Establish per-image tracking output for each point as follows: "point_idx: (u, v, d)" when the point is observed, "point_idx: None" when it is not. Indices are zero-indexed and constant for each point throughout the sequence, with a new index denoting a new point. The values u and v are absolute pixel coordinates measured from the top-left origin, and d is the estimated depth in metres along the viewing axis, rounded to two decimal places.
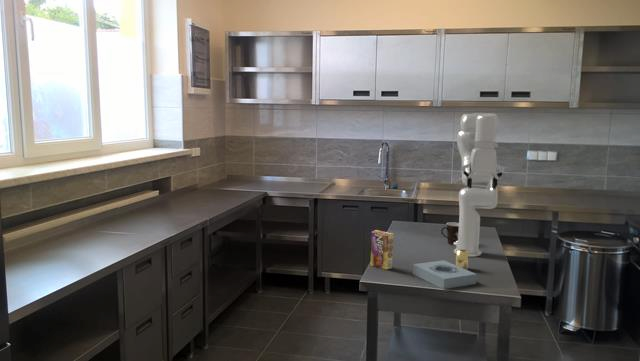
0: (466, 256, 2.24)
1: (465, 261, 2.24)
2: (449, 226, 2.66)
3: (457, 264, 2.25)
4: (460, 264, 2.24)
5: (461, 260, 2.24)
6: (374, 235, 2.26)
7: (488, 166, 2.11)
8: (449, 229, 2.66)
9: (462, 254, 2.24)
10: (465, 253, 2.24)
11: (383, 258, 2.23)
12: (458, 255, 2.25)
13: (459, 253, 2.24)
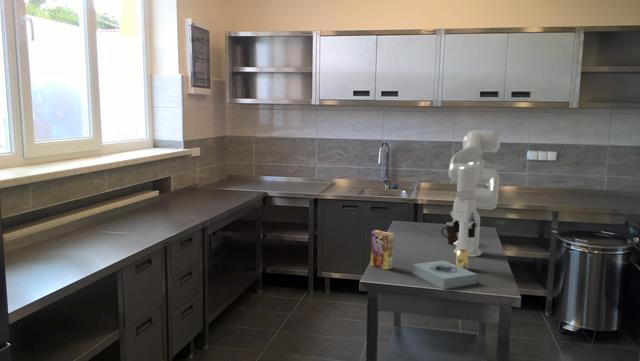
0: (466, 256, 2.24)
1: (465, 261, 2.24)
2: (449, 226, 2.66)
3: (457, 264, 2.25)
4: (460, 264, 2.24)
5: (461, 260, 2.24)
6: (374, 235, 2.26)
7: None
8: (449, 229, 2.66)
9: (462, 254, 2.24)
10: (465, 253, 2.24)
11: (383, 258, 2.23)
12: (458, 255, 2.25)
13: (459, 253, 2.24)
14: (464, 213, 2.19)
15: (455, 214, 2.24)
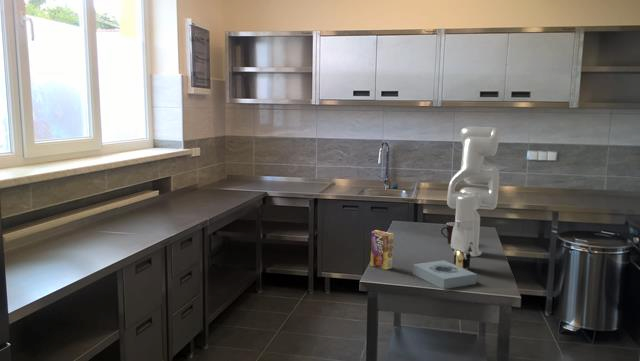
0: None
1: None
2: (449, 226, 2.66)
3: (457, 264, 2.25)
4: (460, 264, 2.24)
5: (461, 260, 2.24)
6: (374, 235, 2.26)
7: None
8: (449, 229, 2.66)
9: (462, 254, 2.24)
10: None
11: (383, 258, 2.23)
12: (458, 255, 2.25)
13: (459, 253, 2.24)
14: (462, 243, 2.21)
15: (453, 243, 2.26)
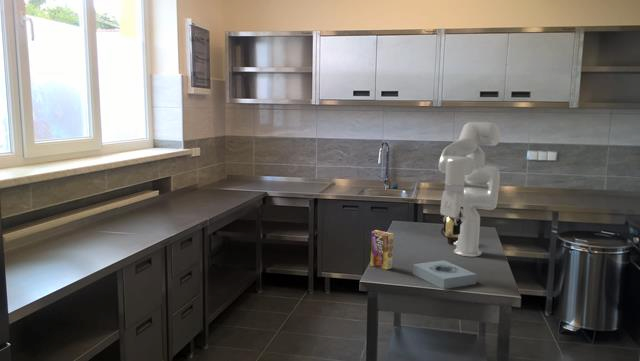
0: None
1: None
2: None
3: (447, 231, 2.13)
4: (450, 231, 2.12)
5: (451, 226, 2.12)
6: (374, 235, 2.26)
7: None
8: None
9: (452, 220, 2.11)
10: None
11: (383, 258, 2.23)
12: (448, 221, 2.12)
13: (449, 219, 2.12)
14: (452, 207, 2.09)
15: (443, 209, 2.14)
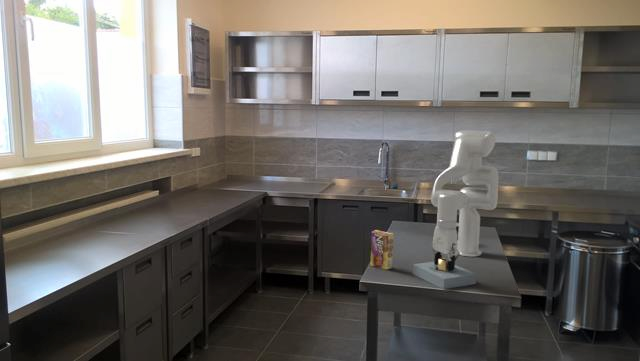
0: None
1: (447, 271, 2.10)
2: None
3: None
4: None
5: (443, 270, 2.10)
6: (374, 235, 2.26)
7: None
8: None
9: (444, 263, 2.10)
10: None
11: (383, 258, 2.23)
12: (440, 264, 2.11)
13: (441, 262, 2.10)
14: (444, 244, 2.07)
15: (435, 244, 2.12)
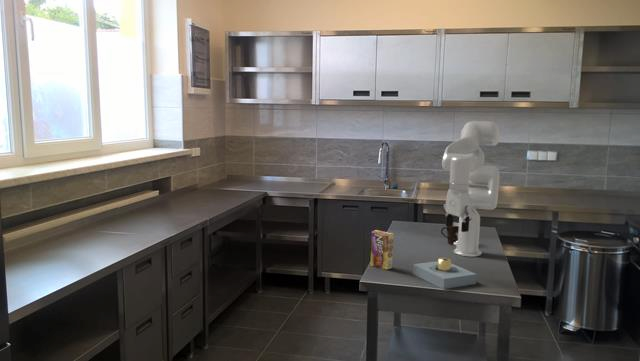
0: (448, 265, 2.10)
1: (447, 271, 2.10)
2: (449, 226, 2.66)
3: None
4: None
5: (443, 270, 2.10)
6: (374, 235, 2.26)
7: None
8: (449, 229, 2.66)
9: (444, 263, 2.10)
10: (447, 262, 2.10)
11: (383, 258, 2.23)
12: (440, 264, 2.11)
13: (441, 262, 2.10)
14: (457, 206, 2.09)
15: (448, 207, 2.14)
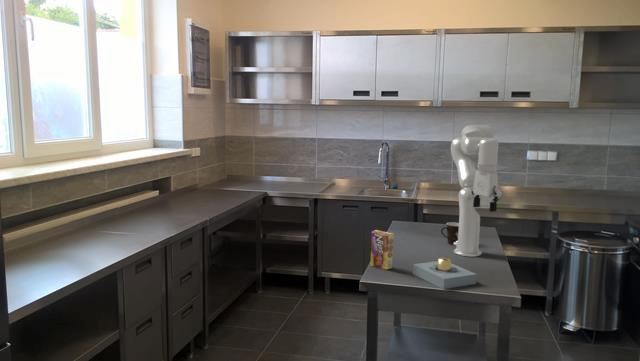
0: (448, 265, 2.10)
1: (447, 271, 2.10)
2: (449, 226, 2.66)
3: None
4: None
5: (443, 270, 2.10)
6: (374, 235, 2.26)
7: None
8: (449, 229, 2.66)
9: (444, 263, 2.10)
10: (447, 262, 2.10)
11: (383, 258, 2.23)
12: (440, 264, 2.11)
13: (441, 262, 2.10)
14: (486, 187, 2.18)
15: (476, 188, 2.23)
